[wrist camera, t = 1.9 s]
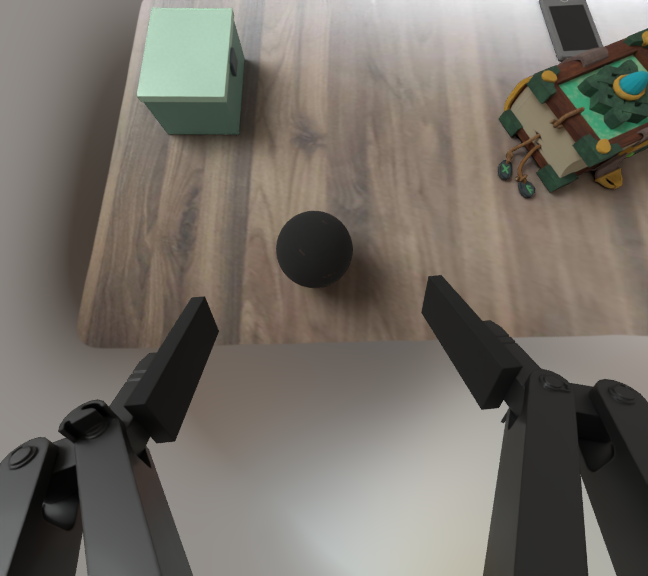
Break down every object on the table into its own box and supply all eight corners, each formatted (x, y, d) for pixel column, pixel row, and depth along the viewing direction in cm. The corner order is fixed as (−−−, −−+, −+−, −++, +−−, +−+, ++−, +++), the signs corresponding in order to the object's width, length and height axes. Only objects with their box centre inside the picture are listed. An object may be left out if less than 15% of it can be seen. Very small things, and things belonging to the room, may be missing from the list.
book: (531, 227, 40) (600, 191, 30) (462, 123, 43) (504, 61, 33) (665, 165, 42) (770, 113, 32) (588, 72, 46) (662, -1, 36)
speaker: (303, 220, 40) (296, 181, 30) (359, 249, 39) (372, 218, 29) (270, 274, 38) (252, 251, 28) (328, 305, 37) (331, 294, 27)
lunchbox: (242, 135, 42) (227, 96, 36) (163, 135, 42) (133, 96, 36) (248, 57, 46) (235, 8, 39) (174, 57, 46) (148, 7, 39)
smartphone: (602, 58, 46) (606, 54, 45) (558, 61, 46) (562, 57, 45) (579, -4, 49) (583, -9, 48) (538, -1, 49) (541, -6, 48)
